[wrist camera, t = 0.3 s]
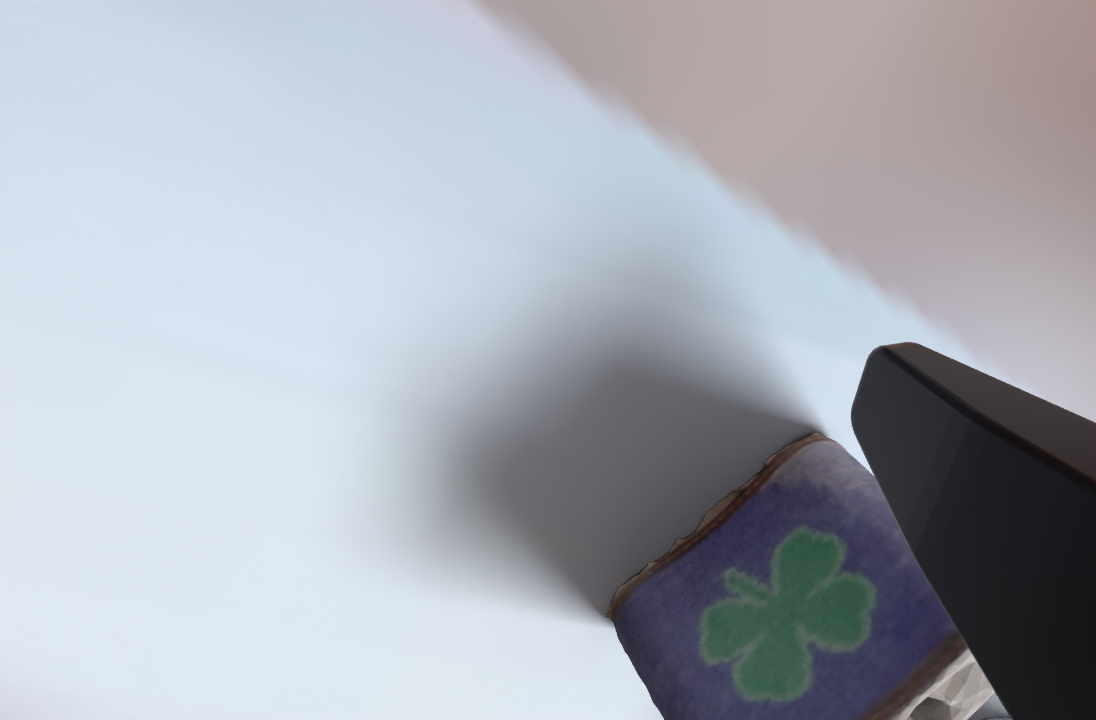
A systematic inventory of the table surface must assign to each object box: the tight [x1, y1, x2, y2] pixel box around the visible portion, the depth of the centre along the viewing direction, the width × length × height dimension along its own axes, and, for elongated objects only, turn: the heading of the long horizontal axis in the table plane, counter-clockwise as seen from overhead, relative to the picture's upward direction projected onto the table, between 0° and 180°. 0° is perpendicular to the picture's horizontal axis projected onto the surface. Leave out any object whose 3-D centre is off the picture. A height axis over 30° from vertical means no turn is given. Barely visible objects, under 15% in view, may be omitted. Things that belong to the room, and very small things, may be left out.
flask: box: [606, 433, 995, 720], centre depth 27 cm, size 9×3×11 cm, turn 127°
